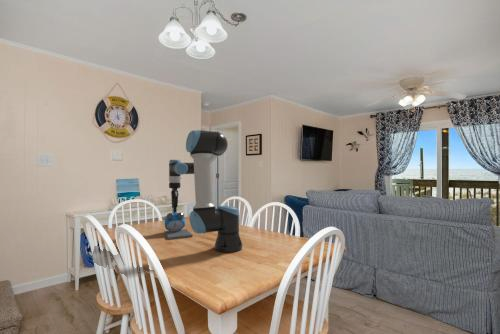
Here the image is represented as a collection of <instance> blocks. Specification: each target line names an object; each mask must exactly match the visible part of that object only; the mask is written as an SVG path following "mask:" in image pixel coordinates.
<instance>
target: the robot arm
mask: <svg viewBox="0 0 500 334" xmlns="http://www.w3.org/2000/svg"><path fill="white" fill-rule="evenodd" d="M228 145H229V144H228V140H227V138H226V136H225V135H224V134H223V133H221V132H219V131H213V130H212V131H210V130H209V131H208V130H201V129H200V130H199V129H197V130H191V131H189V133H188V134H187V137H186V140H185V150H186V152H188V153H189V154H190V156H189V157H191V158H192V159H193V162H182V161H181V159H170V160H169V161H168V173H169V174H168V182H169V183H168V188H169V189H171V191H170V195H171V197H170V198H171V208H172V209H171V211H172V212H171V213H178V212H177V211H178V205H179V190H178V189H180V188H181V179H182V177H181V176H182V175H194V193H195V195H194V197H195V205H194V206H192V211H190V212H189V217H188V218H189V225H190V227H191V229H192V231H193V232H194V233H195V234H197V235H199V234H206V233H212V232H217V236H216V239H215V243H214V250H215V251H216V252H219V253H235V252H238V251H241V250H242V249H243V242H242V239H241V237H240V210H239V208H238V207H235V206H232V205H218V206H217V208H216V205H215V204H214V203H213V194H212V193H213V191H212V178H211V177H212V175H211V174H212V173H211V164H212V163H213V162H214V161H215V160H216V159H217V158H218V157H220V156H222V155H224V154H225V152H226V151H227V149H228Z"/></svg>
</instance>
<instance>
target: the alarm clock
mask: <svg viewBox="0 0 500 334" xmlns="http://www.w3.org/2000/svg"><path fill="white" fill-rule="evenodd" d="M185 225H186V220H185V214H184V213H182V212H177V213H172V212H170V213H167V214H166V216H165V217H164V228H165V230H166V231H171V230H181V229H184V227H185Z"/></svg>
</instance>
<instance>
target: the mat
mask: <svg viewBox="0 0 500 334" xmlns="http://www.w3.org/2000/svg"><path fill="white" fill-rule="evenodd" d="M163 234H164V236H165V237H166V238H167V240H168V241H169V240H177V239H178V240H179V239H186V238H193V234H192V232H190V231H189V230H188V229H187V228H182V229H181V230H171V231H169V230H164V232H163Z"/></svg>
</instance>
